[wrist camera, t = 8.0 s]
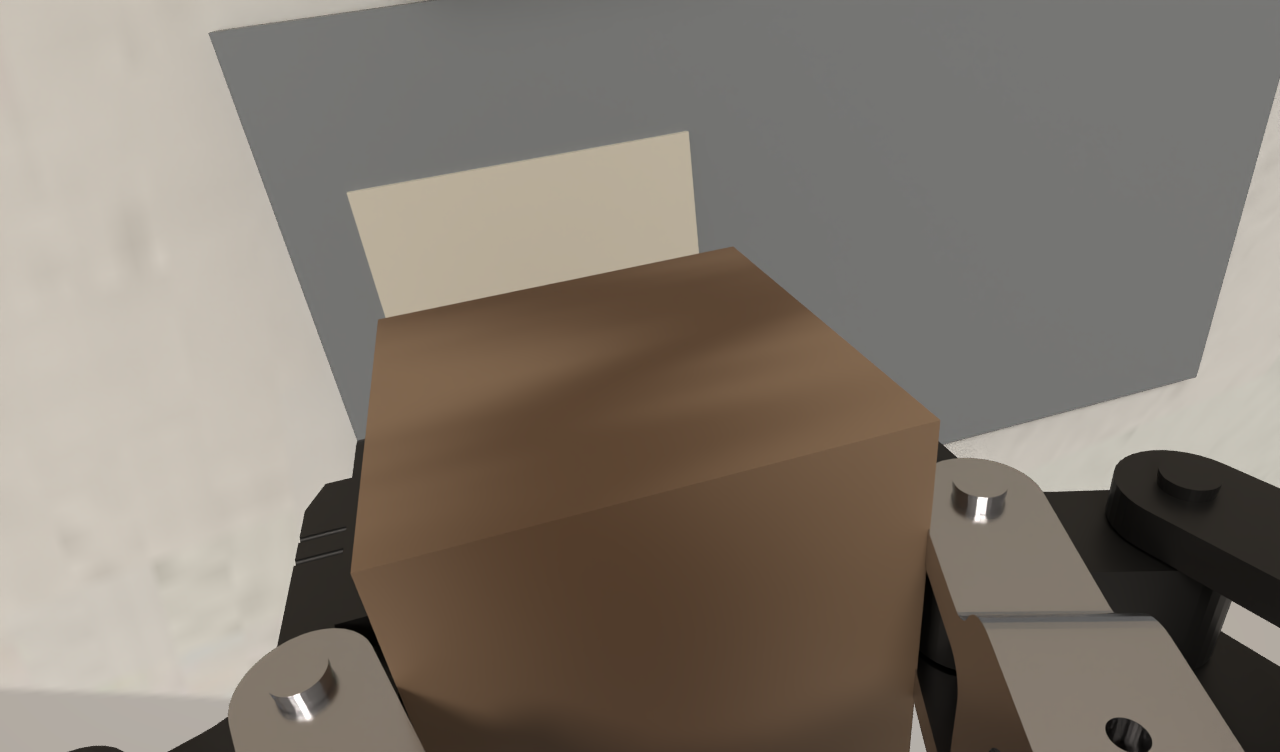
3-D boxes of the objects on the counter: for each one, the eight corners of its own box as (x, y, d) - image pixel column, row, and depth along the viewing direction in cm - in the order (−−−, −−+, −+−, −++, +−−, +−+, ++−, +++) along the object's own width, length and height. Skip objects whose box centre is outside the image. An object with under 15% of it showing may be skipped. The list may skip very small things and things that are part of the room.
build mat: (1307, -124, 16) (1342, -129, 15) (1178, 367, 22) (1199, 378, 21) (216, 30, 12) (206, 33, 12) (410, 568, 18) (410, 588, 18)
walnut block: (732, 246, 11) (940, 419, 7) (748, 516, 13) (908, 772, 9) (378, 319, 10) (350, 574, 6) (464, 593, 12) (489, 915, 8)
